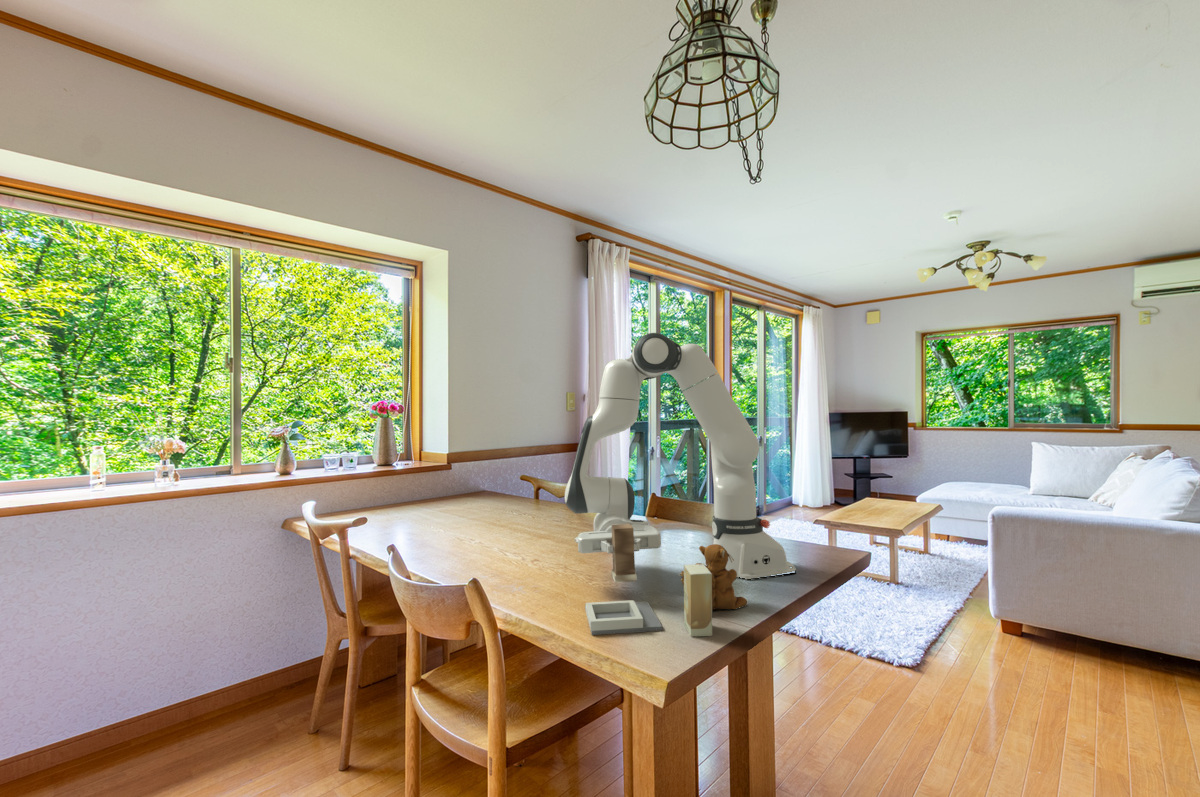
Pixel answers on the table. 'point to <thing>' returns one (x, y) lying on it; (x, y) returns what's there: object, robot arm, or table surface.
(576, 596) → the table surface
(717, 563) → the stuffed squirrel
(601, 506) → the robot arm
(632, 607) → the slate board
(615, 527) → the walnut box
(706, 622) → the skincare box
